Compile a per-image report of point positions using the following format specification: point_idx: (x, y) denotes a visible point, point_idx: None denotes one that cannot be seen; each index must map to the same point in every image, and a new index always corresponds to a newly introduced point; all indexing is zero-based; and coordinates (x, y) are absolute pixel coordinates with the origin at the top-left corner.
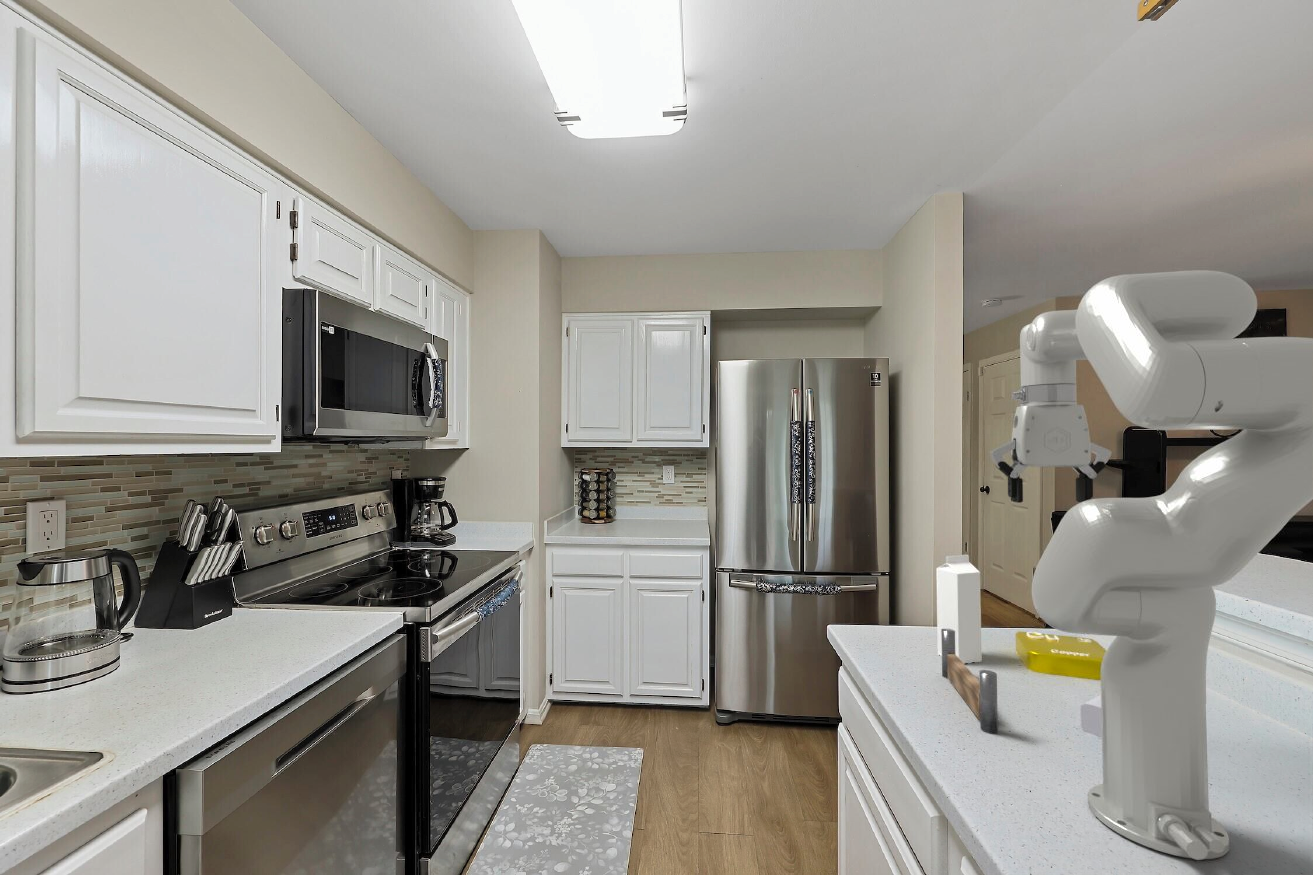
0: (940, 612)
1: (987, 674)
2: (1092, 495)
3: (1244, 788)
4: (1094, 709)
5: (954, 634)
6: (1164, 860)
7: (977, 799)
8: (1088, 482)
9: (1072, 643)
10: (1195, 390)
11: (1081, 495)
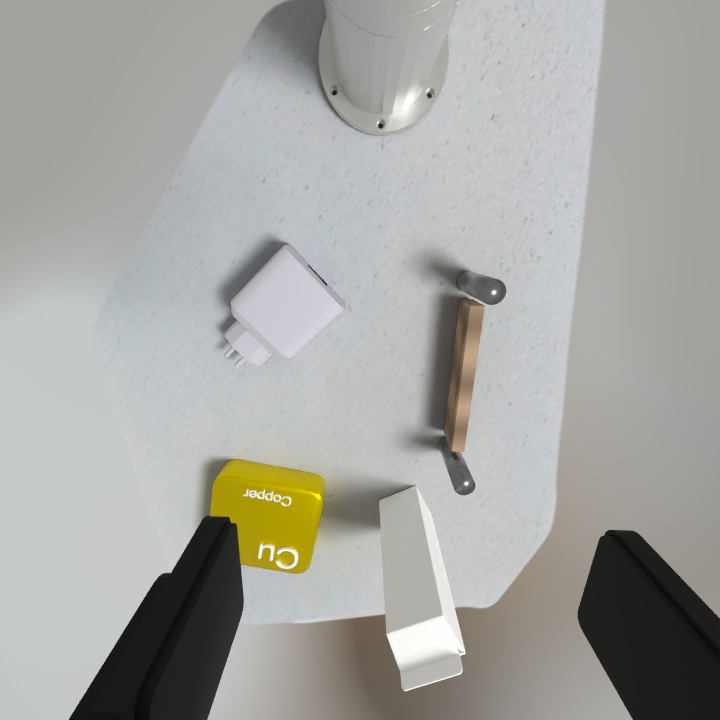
0: (442, 565)
1: (497, 284)
2: (159, 579)
3: (230, 177)
4: (332, 296)
5: (455, 478)
6: None
7: (570, 80)
8: (136, 662)
9: (246, 535)
10: None
11: (224, 593)
